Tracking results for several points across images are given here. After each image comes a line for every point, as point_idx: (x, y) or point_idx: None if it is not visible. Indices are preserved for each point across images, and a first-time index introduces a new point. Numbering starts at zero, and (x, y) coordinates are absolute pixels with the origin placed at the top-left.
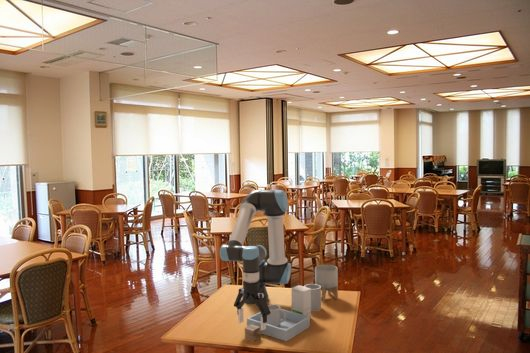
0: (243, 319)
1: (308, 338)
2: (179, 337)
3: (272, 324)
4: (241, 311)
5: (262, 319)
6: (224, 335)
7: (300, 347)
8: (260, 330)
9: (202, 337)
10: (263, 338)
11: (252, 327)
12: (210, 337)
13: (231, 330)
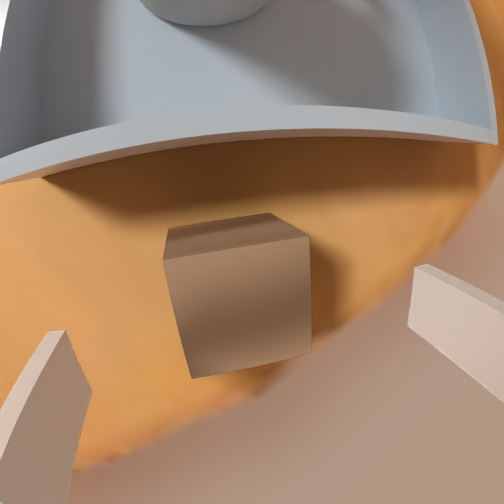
0: (55, 345)
1: None
2: None
3: (257, 3)
4: (37, 483)
5: (500, 372)
6: None
7: (496, 160)
8: (207, 142)
9: None
10: (306, 208)
11: (244, 310)
12: None
13: (4, 300)
